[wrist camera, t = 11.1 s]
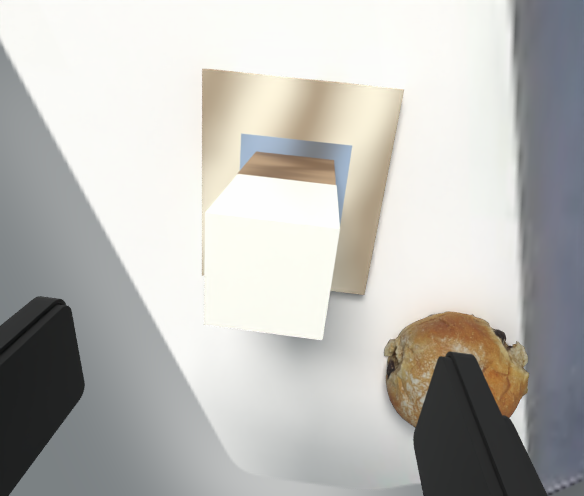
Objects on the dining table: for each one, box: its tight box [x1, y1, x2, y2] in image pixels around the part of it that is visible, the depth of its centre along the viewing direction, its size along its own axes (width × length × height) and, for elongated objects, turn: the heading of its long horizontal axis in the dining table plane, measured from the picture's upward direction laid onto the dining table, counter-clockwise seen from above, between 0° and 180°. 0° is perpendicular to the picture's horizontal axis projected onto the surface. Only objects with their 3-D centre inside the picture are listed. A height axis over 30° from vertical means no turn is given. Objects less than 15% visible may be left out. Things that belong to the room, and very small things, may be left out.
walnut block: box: [237, 152, 336, 185], centre depth 24 cm, size 5×5×6 cm
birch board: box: [202, 69, 404, 295], centre depth 27 cm, size 12×14×1 cm
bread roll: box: [384, 312, 529, 428], centre depth 31 cm, size 10×10×8 cm
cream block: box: [204, 174, 340, 340], centre depth 19 cm, size 5×5×6 cm
